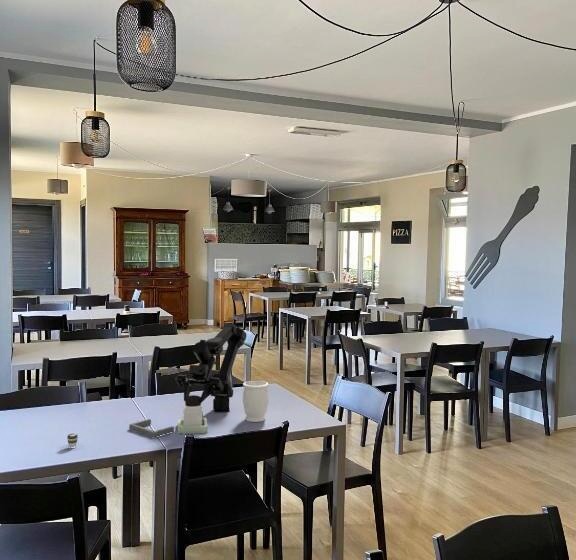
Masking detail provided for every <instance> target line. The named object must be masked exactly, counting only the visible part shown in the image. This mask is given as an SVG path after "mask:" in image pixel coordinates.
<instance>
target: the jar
mask: <svg viewBox="0 0 576 560" xmlns="http://www.w3.org/2000/svg"><path fill="white" fill-rule="evenodd" d="M242 387H243V393H242V402H243V410H244V413H245V415H246V416H245V418H244V420H245V421H247V422H250V423H259V422H263V421H266V418H267V417H266V416H265V415H266V414H267V411H268V404H269V390H268V387H269V382H266V381H262V380H248V381H245V382H243V383H242Z"/></svg>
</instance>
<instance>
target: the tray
mask: <svg viewBox="0 0 576 560" xmlns="http://www.w3.org/2000/svg"><path fill="white" fill-rule="evenodd" d="M207 418H208V417H203V424H202V426H183V422H184V418H178V421H177V434H178V433H183V434H202V433H203V434H206V433H208V419H207ZM183 434H182V435H183Z"/></svg>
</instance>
